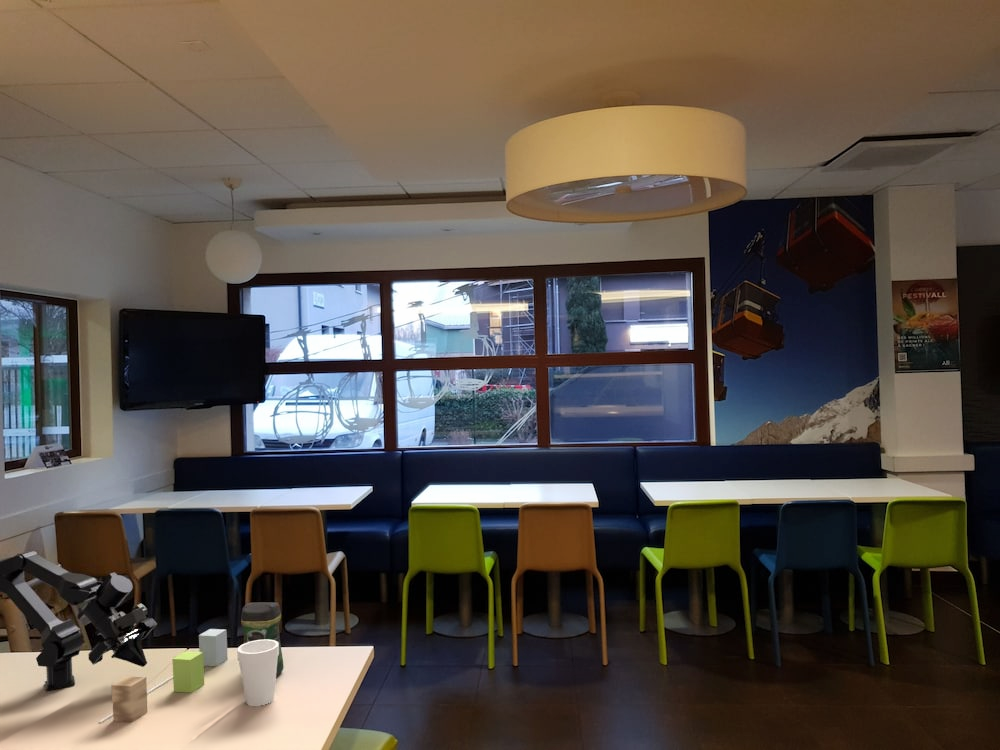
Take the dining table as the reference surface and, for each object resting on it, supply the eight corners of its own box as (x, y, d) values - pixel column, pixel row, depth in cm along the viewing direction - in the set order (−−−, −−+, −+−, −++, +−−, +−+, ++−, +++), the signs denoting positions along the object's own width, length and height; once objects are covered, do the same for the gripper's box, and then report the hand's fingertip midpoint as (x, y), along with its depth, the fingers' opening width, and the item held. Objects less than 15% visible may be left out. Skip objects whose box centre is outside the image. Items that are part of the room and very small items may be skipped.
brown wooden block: (113, 720, 172) (111, 685, 172) (128, 710, 177) (127, 676, 177) (132, 722, 171) (130, 686, 171) (147, 712, 176) (146, 677, 176)
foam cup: (268, 710, 177) (266, 654, 177) (231, 708, 179) (229, 653, 179) (287, 693, 186) (285, 640, 186) (252, 691, 188) (250, 638, 188)
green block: (173, 691, 187) (172, 658, 187) (186, 683, 192) (185, 651, 192) (191, 692, 186) (190, 659, 186) (204, 684, 191) (203, 652, 191)
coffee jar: (287, 668, 202) (284, 598, 202) (275, 680, 195) (272, 607, 194) (252, 668, 203) (249, 598, 203) (239, 680, 196) (236, 607, 195)
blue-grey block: (199, 665, 203) (198, 635, 203) (211, 658, 208) (209, 628, 208) (216, 666, 202) (215, 636, 202) (227, 659, 207) (226, 629, 207)
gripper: (97, 609, 183) (138, 658, 181) (149, 586, 202) (187, 630, 199) (70, 640, 185) (110, 688, 183) (124, 615, 203) (162, 659, 201)
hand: (145, 665), depth 192 cm, fingers closed
